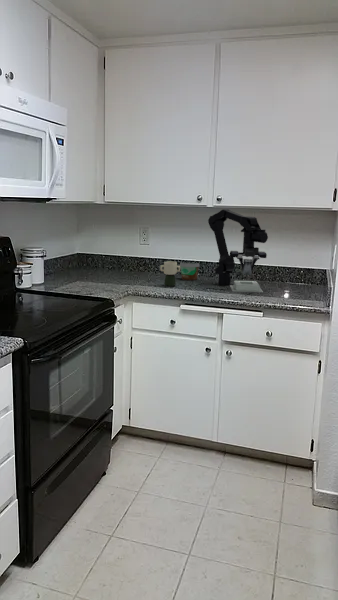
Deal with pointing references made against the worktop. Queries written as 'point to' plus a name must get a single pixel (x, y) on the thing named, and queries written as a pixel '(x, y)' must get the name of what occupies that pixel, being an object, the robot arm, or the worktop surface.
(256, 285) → the dock
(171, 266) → the character mug
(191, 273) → the food container
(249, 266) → the spigot
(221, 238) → the robot arm
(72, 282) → the worktop surface
